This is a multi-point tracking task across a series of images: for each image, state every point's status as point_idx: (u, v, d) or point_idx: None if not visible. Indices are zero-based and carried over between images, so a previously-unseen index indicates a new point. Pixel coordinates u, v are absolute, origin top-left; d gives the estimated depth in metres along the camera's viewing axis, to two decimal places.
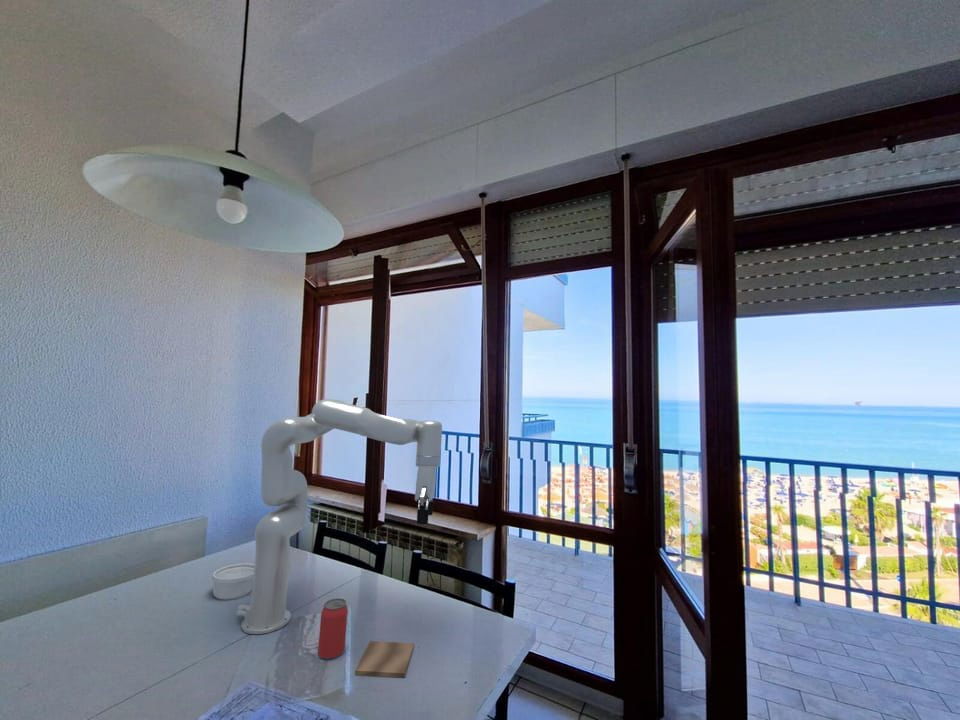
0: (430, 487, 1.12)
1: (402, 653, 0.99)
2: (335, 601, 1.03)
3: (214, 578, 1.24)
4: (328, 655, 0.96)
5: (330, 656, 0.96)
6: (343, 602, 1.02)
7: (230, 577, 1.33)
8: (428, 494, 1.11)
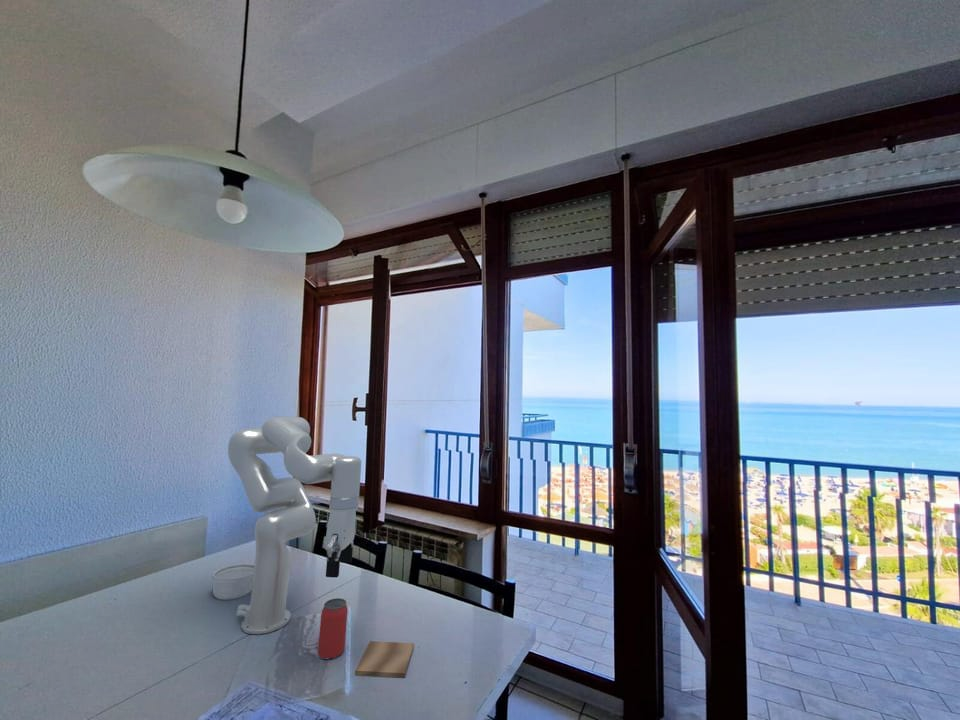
0: (342, 534, 0.99)
1: (402, 653, 0.99)
2: (335, 601, 1.03)
3: (214, 578, 1.24)
4: (328, 655, 0.96)
5: (330, 656, 0.96)
6: (343, 602, 1.02)
7: (230, 577, 1.33)
8: (339, 543, 0.98)
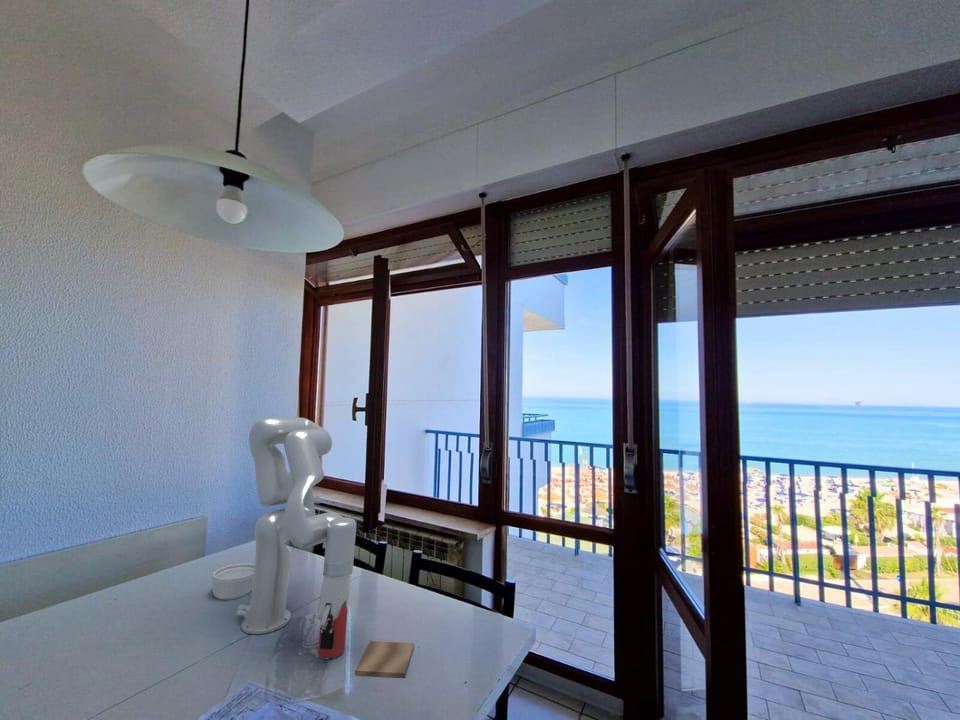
0: (335, 604, 0.97)
1: (402, 653, 0.99)
2: None
3: (214, 578, 1.24)
4: (328, 655, 0.96)
5: (330, 656, 0.96)
6: None
7: (230, 577, 1.33)
8: (333, 615, 0.96)
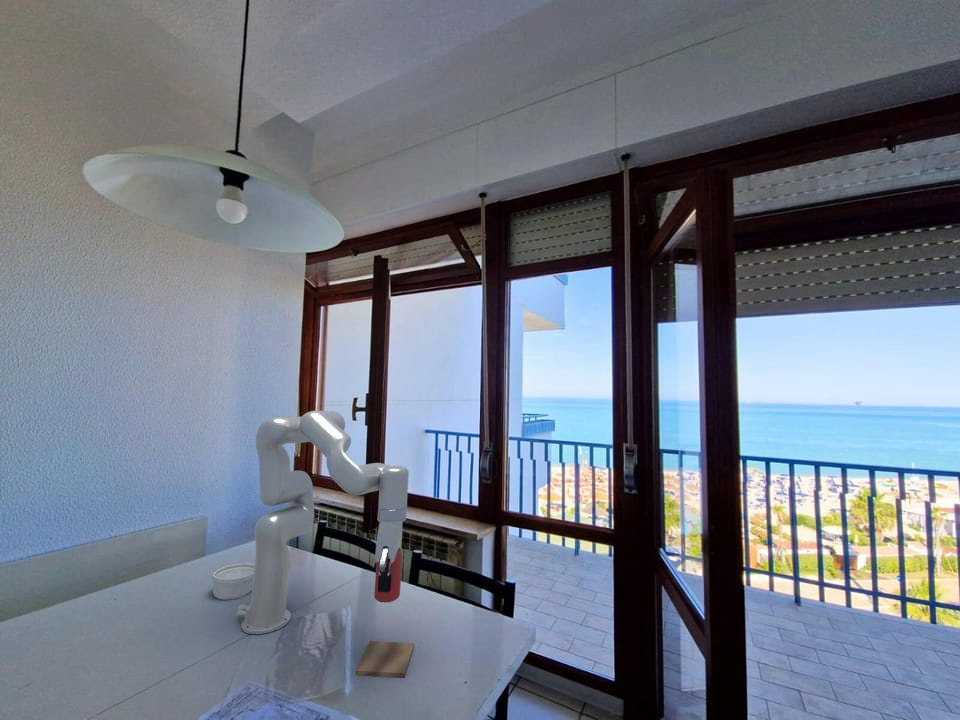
0: (392, 547, 0.97)
1: (402, 653, 0.99)
2: None
3: (214, 578, 1.24)
4: (386, 598, 0.96)
5: (388, 599, 0.96)
6: None
7: (230, 577, 1.33)
8: (390, 558, 0.96)
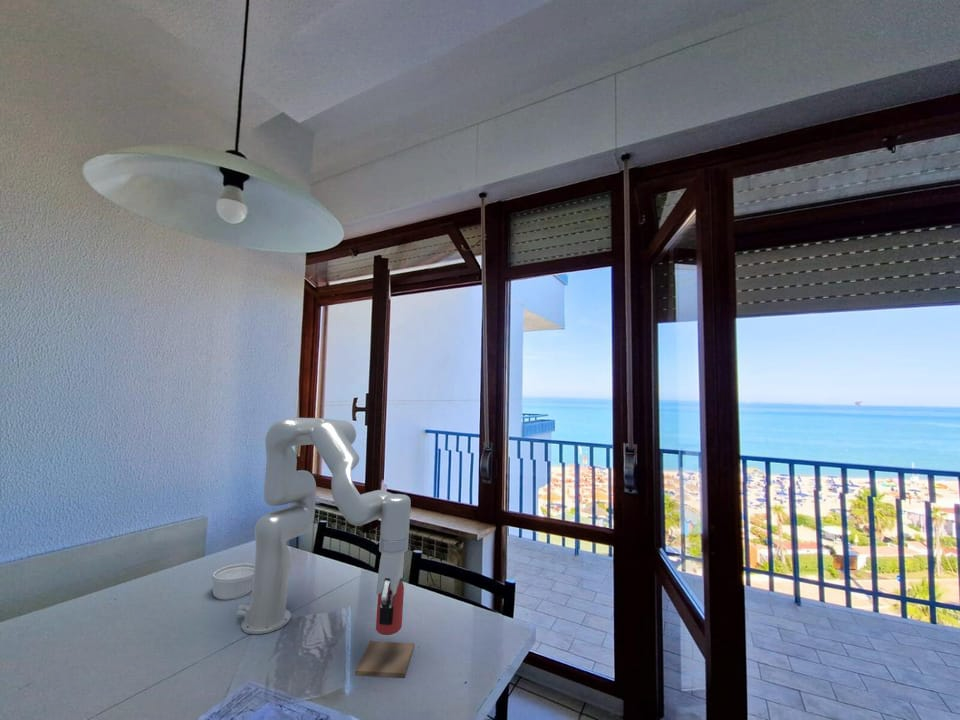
0: (394, 579, 0.95)
1: (402, 653, 0.99)
2: None
3: (214, 578, 1.24)
4: (387, 631, 0.95)
5: (389, 632, 0.95)
6: None
7: (230, 577, 1.33)
8: (392, 590, 0.95)
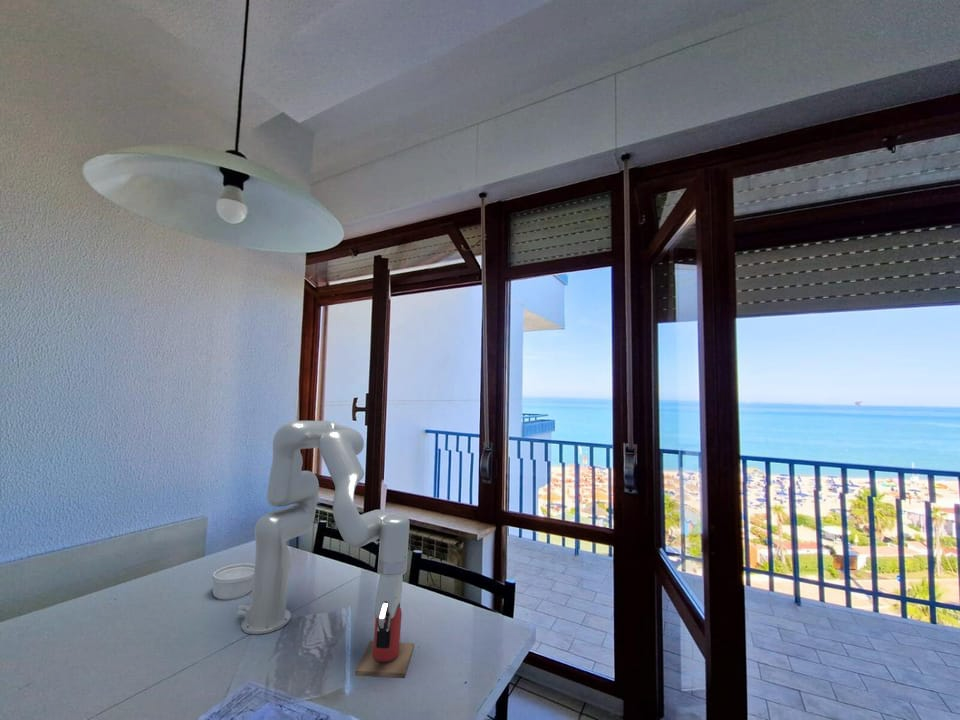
0: (393, 602, 0.95)
1: (402, 653, 0.99)
2: None
3: (214, 578, 1.24)
4: (384, 658, 0.94)
5: (386, 659, 0.94)
6: None
7: (230, 577, 1.33)
8: (390, 611, 0.94)
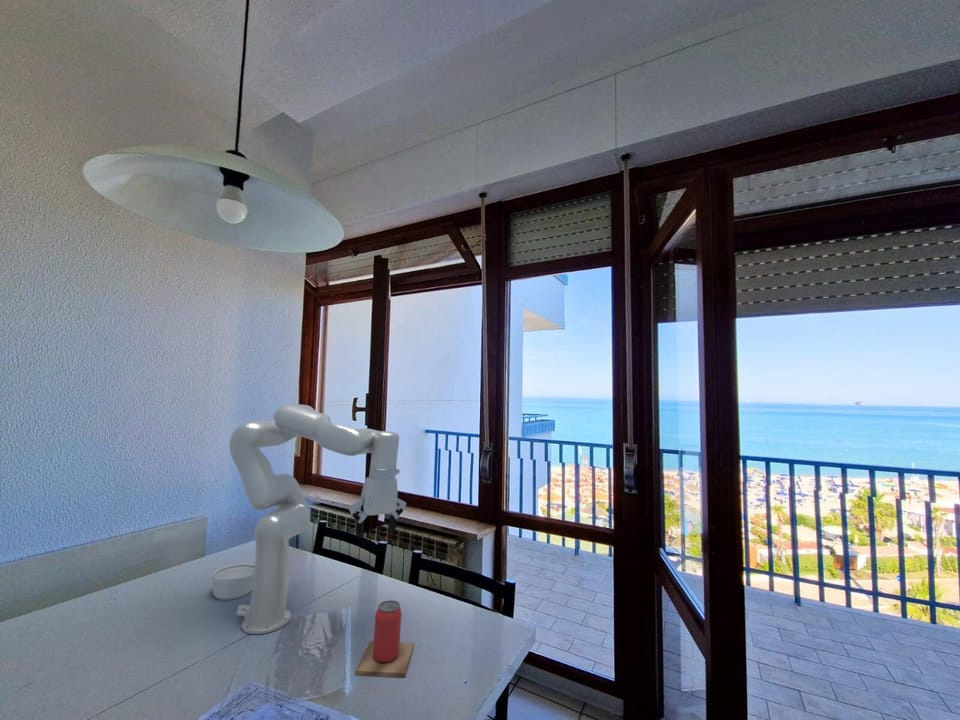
0: (366, 500, 1.07)
1: (402, 653, 0.99)
2: (388, 603, 1.01)
3: (214, 578, 1.24)
4: (384, 658, 0.94)
5: (386, 659, 0.94)
6: (396, 604, 1.00)
7: (230, 577, 1.33)
8: (364, 507, 1.07)
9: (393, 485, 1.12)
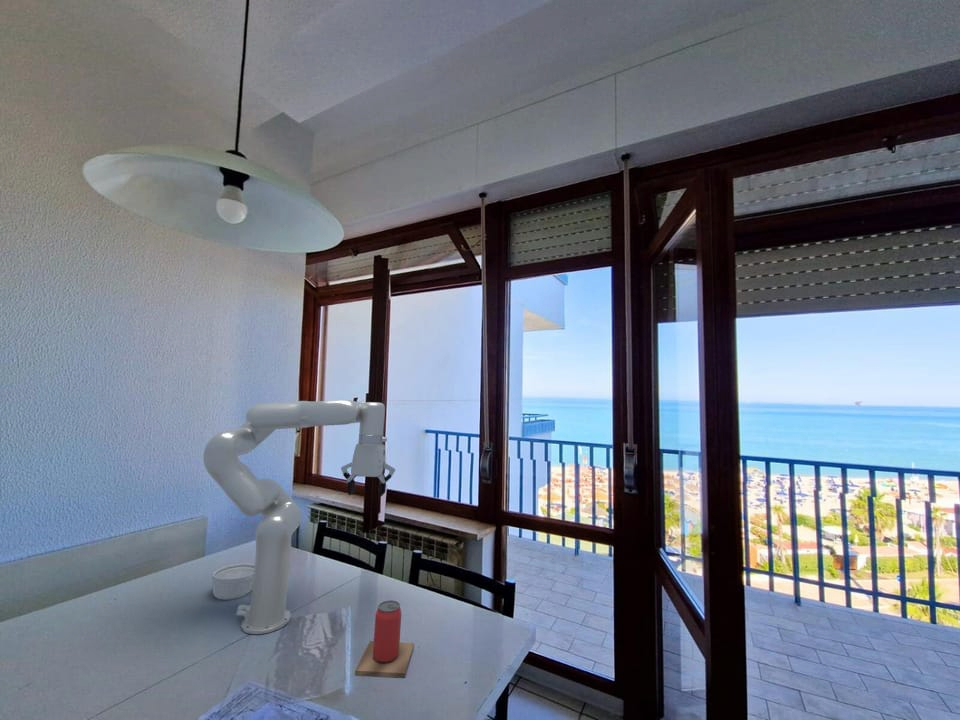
0: (352, 462, 1.21)
1: (402, 653, 0.99)
2: (388, 603, 1.01)
3: (214, 578, 1.24)
4: (384, 658, 0.94)
5: (386, 659, 0.94)
6: (396, 604, 1.00)
7: (230, 577, 1.33)
8: None
9: (376, 451, 1.21)
